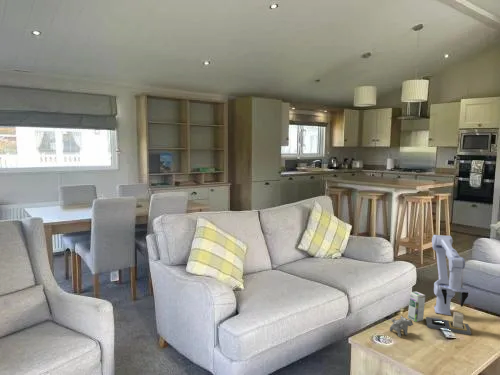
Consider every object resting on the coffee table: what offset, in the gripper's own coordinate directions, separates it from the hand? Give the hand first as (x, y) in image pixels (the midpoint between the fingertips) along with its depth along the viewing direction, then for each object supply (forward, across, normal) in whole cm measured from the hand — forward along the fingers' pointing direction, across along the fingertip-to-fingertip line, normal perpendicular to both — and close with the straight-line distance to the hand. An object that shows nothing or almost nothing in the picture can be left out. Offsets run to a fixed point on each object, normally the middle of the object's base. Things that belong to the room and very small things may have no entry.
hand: (453, 304), depth 201 cm
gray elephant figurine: (+11, -25, -22) cm, 35 cm away
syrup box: (+11, -18, -2) cm, 21 cm away
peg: (+11, +2, -6) cm, 12 cm away
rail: (+10, -3, -5) cm, 12 cm away
